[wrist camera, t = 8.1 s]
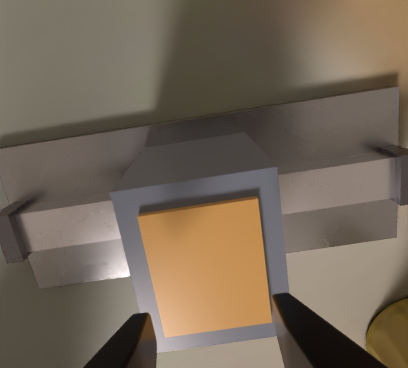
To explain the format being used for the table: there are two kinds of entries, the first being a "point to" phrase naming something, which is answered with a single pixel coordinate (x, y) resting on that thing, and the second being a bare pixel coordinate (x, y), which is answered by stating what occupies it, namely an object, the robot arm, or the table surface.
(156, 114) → the table surface
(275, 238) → the grey slider block
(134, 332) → the robot arm
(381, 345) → the vase
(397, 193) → the rail
